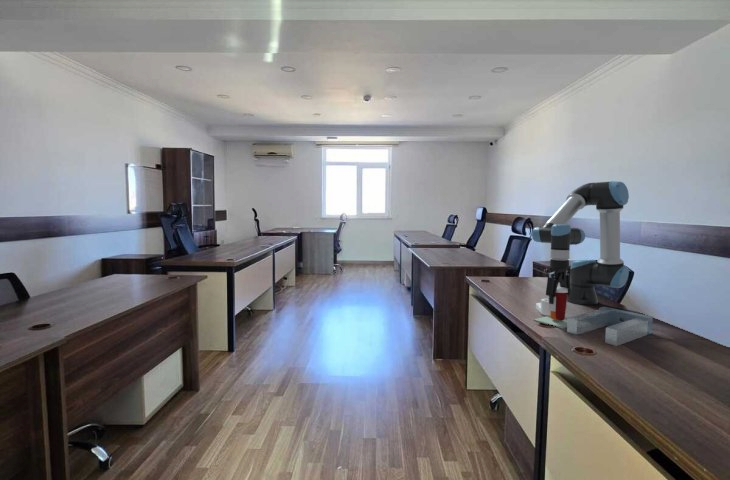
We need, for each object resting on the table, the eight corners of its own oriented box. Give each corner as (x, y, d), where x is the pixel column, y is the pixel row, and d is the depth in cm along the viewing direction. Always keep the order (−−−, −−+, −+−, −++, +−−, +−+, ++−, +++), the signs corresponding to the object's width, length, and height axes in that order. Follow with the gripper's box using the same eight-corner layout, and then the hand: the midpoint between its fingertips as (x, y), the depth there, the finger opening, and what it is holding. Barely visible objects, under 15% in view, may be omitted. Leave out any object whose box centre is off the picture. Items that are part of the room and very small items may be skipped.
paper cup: (569, 318, 172) (570, 287, 171) (564, 322, 167) (565, 290, 165) (550, 315, 178) (552, 285, 176) (545, 318, 172) (546, 288, 171)
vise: (612, 318, 177) (613, 304, 176) (661, 329, 161) (662, 313, 160) (566, 332, 158) (567, 315, 157) (616, 346, 142) (617, 327, 141)
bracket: (563, 316, 178) (563, 302, 178) (542, 315, 180) (543, 301, 180) (553, 307, 197) (553, 294, 197) (535, 306, 199) (535, 294, 199)
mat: (552, 316, 182) (552, 314, 182) (581, 323, 170) (581, 322, 170) (533, 320, 174) (533, 319, 174) (563, 328, 163) (563, 327, 162)
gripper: (564, 256, 178) (563, 304, 180) (537, 259, 168) (536, 310, 170) (581, 258, 172) (578, 308, 174) (553, 261, 161) (551, 314, 163)
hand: (557, 309), depth 172 cm, fingers closed on paper cup, 8 cm apart
